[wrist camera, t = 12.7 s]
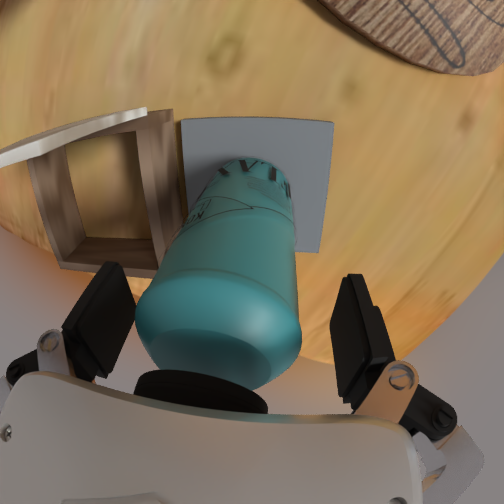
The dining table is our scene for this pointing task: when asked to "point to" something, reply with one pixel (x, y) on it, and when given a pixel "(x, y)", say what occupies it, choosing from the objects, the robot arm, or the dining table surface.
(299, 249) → the slate mat
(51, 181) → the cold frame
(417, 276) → the dining table surface
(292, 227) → the beverage bottle
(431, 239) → the dining table surface
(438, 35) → the trivet
